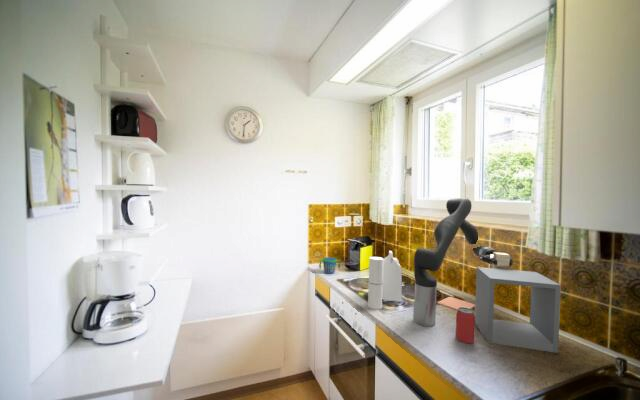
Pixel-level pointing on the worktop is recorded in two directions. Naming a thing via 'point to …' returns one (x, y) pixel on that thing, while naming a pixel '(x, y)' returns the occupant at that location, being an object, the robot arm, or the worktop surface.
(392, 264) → the milk
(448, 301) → the terracotta mat
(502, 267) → the maple block
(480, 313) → the box
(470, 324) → the beer can
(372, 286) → the cylindrical container
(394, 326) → the worktop surface
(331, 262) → the snack cup
